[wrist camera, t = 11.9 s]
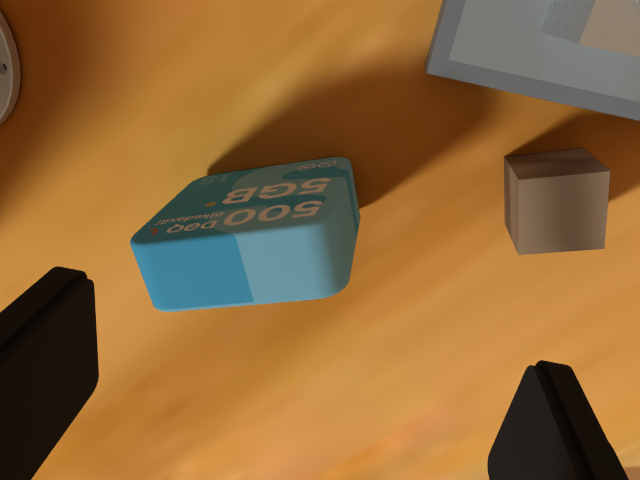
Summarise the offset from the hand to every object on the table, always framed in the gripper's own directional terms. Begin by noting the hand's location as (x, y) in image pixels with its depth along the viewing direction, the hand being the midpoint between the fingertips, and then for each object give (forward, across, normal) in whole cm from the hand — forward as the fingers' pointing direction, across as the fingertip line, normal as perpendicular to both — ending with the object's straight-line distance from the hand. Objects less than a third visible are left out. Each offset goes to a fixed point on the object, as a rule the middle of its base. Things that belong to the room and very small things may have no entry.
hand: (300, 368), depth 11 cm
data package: (+27, +4, +7) cm, 28 cm away
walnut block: (+26, -14, +3) cm, 30 cm away
